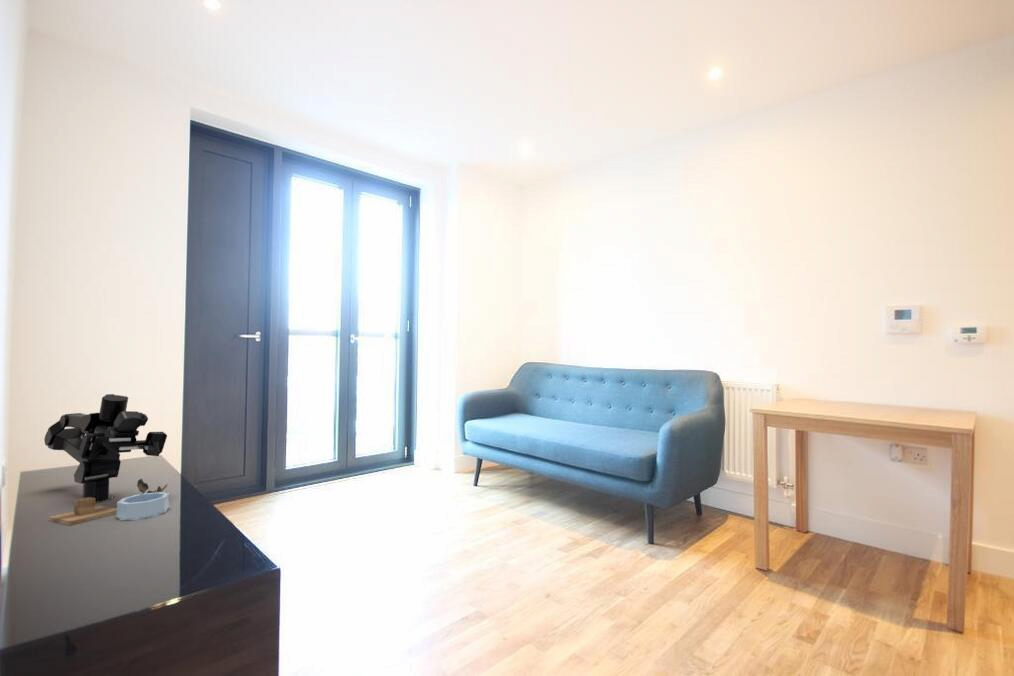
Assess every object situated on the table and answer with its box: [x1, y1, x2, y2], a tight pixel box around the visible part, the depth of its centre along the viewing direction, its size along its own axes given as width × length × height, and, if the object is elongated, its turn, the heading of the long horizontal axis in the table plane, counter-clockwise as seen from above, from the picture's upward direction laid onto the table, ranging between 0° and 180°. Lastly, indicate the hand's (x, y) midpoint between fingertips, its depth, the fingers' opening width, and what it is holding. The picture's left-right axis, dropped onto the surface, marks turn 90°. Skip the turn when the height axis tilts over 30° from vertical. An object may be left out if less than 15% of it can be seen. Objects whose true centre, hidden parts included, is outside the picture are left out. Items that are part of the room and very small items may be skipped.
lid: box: [48, 497, 117, 527], centre depth 118 cm, size 10×10×4 cm
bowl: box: [116, 491, 170, 521], centre depth 120 cm, size 10×10×4 cm
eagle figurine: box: [136, 478, 168, 494], centre depth 131 cm, size 8×7×9 cm
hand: (139, 455), depth 122 cm, fingers open, 9 cm apart
